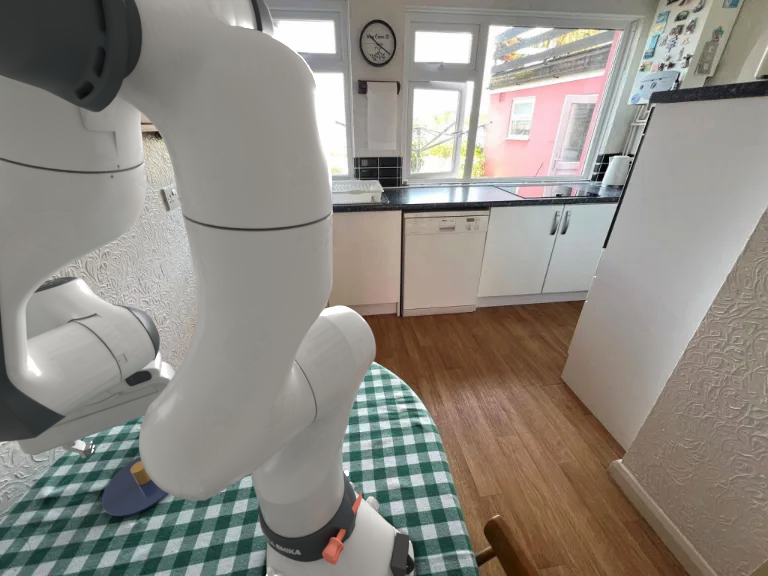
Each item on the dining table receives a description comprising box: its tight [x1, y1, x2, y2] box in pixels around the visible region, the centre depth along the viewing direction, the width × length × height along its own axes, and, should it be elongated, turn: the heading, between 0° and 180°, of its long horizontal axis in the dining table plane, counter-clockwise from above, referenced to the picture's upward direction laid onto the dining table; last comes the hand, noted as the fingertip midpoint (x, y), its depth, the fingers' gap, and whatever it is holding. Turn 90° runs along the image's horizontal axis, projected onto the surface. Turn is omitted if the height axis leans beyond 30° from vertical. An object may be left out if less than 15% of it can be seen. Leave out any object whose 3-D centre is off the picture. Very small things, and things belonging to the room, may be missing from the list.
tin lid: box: [101, 456, 169, 518], centre depth 57 cm, size 13×13×5 cm
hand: (125, 440), depth 54 cm, fingers open, 8 cm apart
